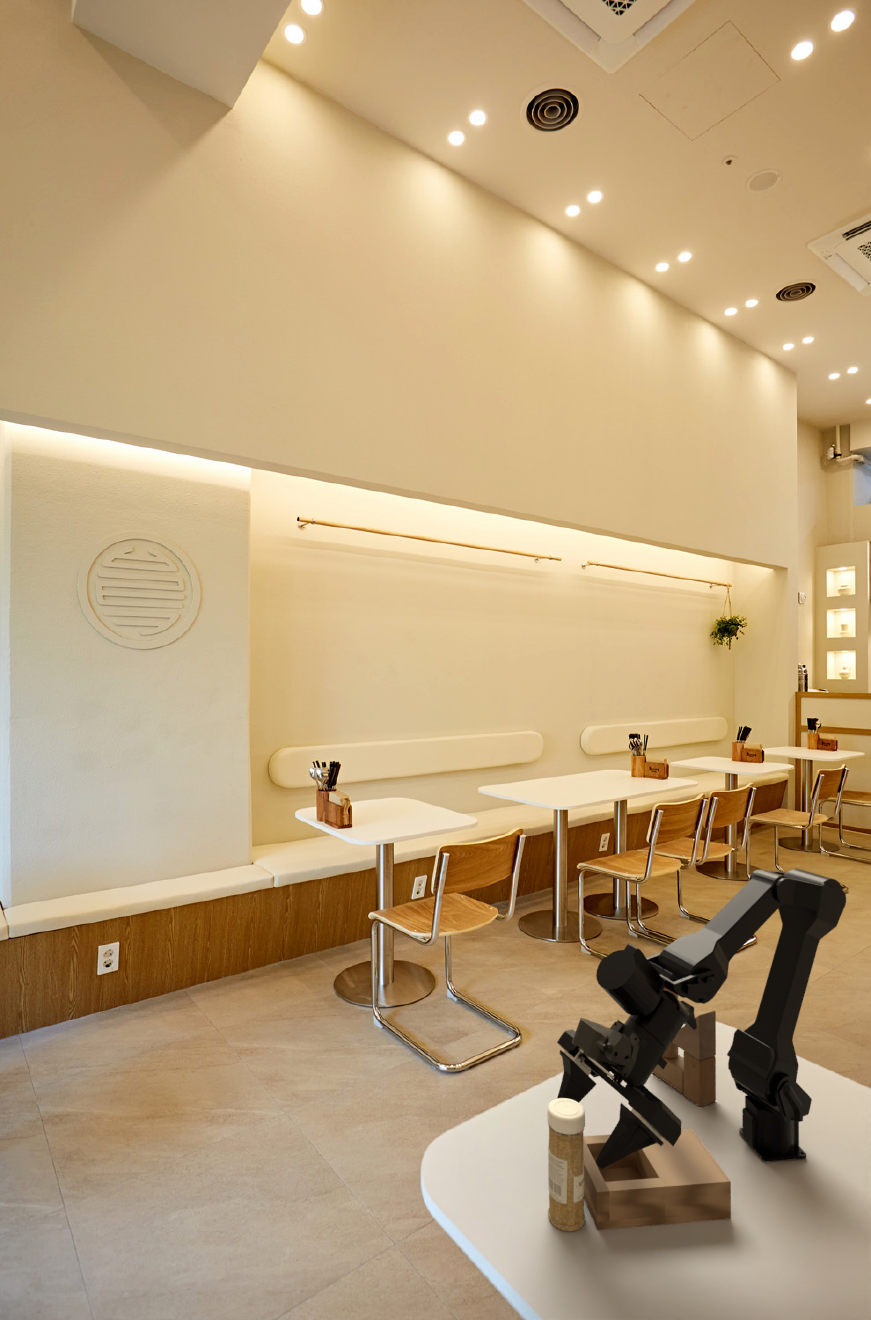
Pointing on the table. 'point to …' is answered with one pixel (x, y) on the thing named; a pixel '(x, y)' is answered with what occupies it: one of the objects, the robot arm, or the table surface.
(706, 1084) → the wooden block
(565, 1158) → the sprinkles bottle
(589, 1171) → the wooden bottle holder
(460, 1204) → the table surface
